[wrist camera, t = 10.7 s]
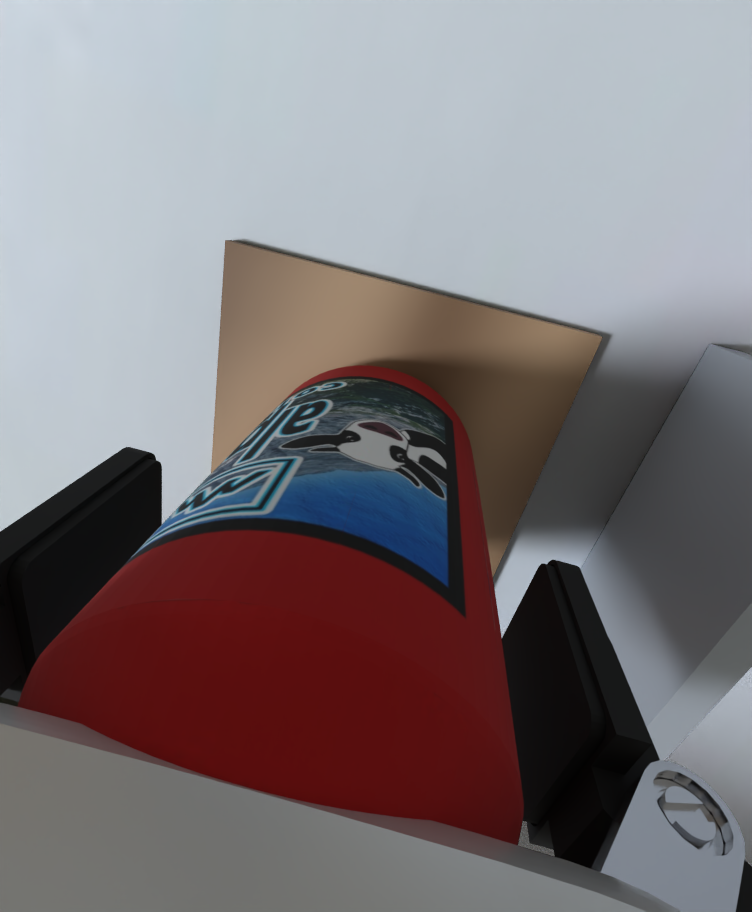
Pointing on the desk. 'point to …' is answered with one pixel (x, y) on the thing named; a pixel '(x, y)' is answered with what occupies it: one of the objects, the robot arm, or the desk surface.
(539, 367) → the coaster pad
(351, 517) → the beverage can
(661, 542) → the low wall
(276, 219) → the desk surface
